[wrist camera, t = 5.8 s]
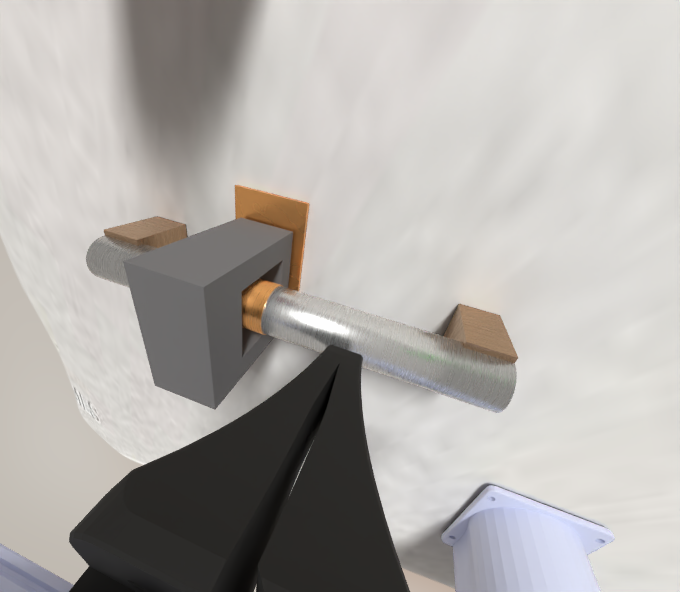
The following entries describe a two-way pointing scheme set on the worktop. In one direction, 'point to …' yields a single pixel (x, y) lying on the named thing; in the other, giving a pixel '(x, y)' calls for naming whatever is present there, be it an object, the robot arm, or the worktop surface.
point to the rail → (340, 313)
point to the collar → (205, 305)
